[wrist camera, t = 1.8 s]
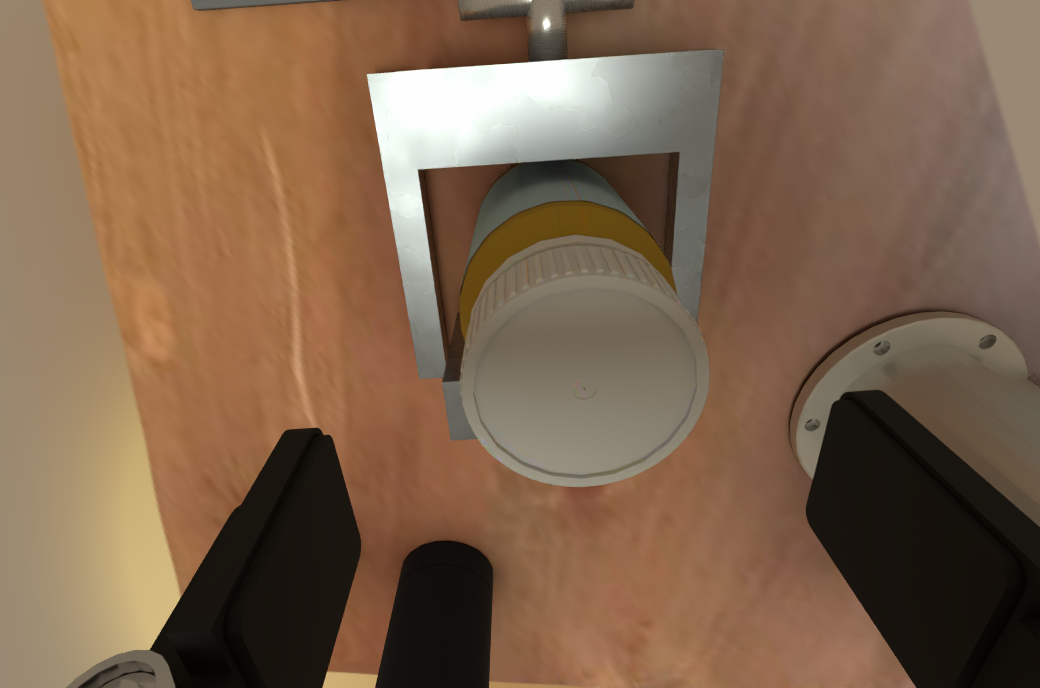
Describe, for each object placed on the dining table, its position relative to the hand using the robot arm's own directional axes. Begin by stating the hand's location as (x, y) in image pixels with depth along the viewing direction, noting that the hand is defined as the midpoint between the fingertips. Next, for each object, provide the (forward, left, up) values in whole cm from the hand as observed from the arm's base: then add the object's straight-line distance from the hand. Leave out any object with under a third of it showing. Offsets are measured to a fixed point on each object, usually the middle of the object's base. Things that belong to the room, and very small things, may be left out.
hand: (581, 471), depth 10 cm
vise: (0, -1, -18) cm, 18 cm away
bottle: (0, 0, -18) cm, 18 cm away
